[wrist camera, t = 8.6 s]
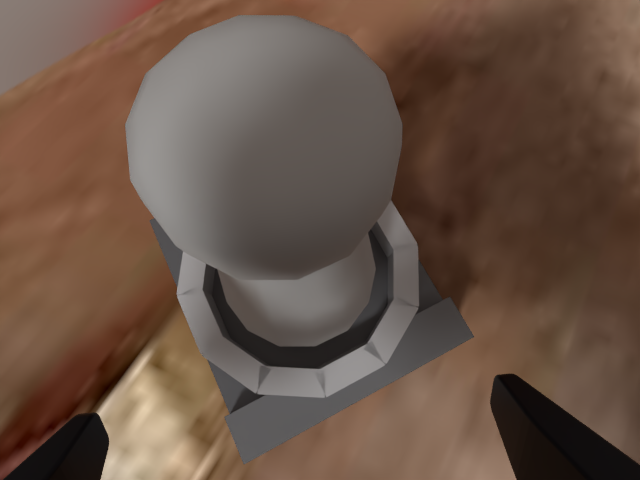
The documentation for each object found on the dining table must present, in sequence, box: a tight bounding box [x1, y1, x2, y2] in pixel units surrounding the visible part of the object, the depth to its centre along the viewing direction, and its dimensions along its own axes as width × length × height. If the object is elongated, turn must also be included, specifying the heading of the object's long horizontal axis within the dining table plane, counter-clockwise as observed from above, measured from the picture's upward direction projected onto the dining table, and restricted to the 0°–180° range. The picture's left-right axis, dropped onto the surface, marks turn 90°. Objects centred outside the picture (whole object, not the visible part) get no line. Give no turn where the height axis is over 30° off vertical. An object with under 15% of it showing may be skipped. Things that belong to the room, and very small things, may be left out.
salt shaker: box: [125, 15, 403, 347], centre depth 12 cm, size 6×6×13 cm
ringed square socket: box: [150, 201, 474, 464], centre depth 19 cm, size 11×10×4 cm
